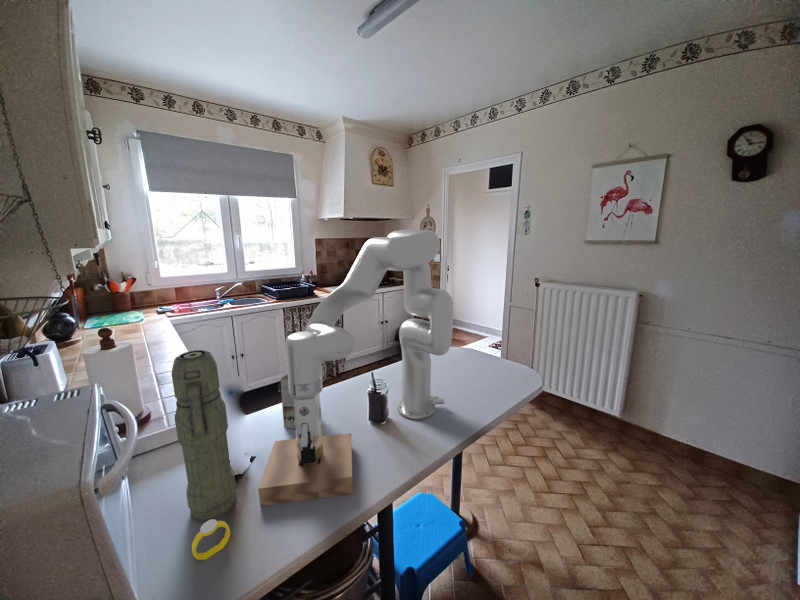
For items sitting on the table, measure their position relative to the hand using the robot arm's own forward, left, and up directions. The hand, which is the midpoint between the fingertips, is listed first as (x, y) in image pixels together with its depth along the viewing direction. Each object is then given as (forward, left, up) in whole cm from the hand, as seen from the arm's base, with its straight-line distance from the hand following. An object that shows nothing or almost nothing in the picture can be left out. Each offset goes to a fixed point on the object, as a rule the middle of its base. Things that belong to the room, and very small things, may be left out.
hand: (310, 452), depth 76 cm
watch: (+16, +17, -6) cm, 24 cm away
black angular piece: (+19, -5, -7) cm, 21 cm away
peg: (0, 0, -5) cm, 5 cm away
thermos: (+20, +6, -6) cm, 22 cm away
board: (0, 0, -6) cm, 6 cm away
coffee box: (+6, -24, -6) cm, 26 cm away
